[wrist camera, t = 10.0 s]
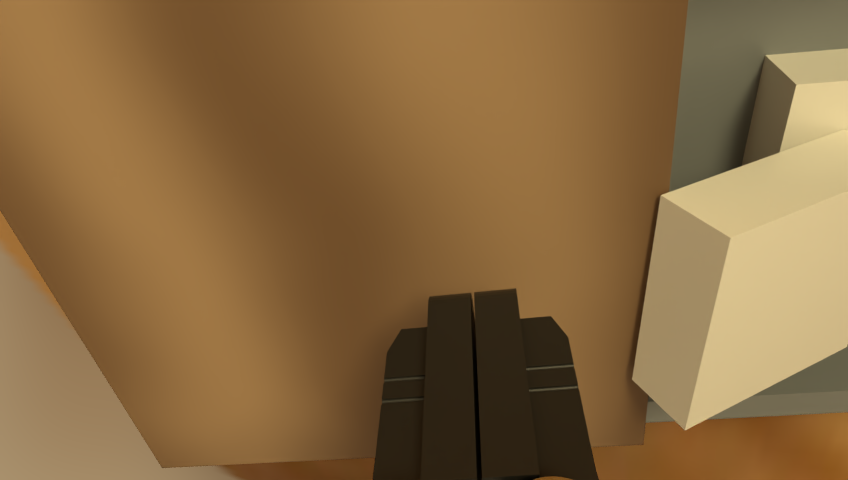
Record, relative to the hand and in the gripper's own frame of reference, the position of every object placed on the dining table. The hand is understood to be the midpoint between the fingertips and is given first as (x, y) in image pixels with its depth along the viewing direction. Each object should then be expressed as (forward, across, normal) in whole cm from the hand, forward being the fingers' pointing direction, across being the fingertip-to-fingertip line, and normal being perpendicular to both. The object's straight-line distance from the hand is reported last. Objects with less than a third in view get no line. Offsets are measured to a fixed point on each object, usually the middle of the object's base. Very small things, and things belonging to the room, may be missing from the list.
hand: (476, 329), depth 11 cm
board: (+5, +2, -1) cm, 6 cm away
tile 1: (+2, -5, +1) cm, 6 cm away
